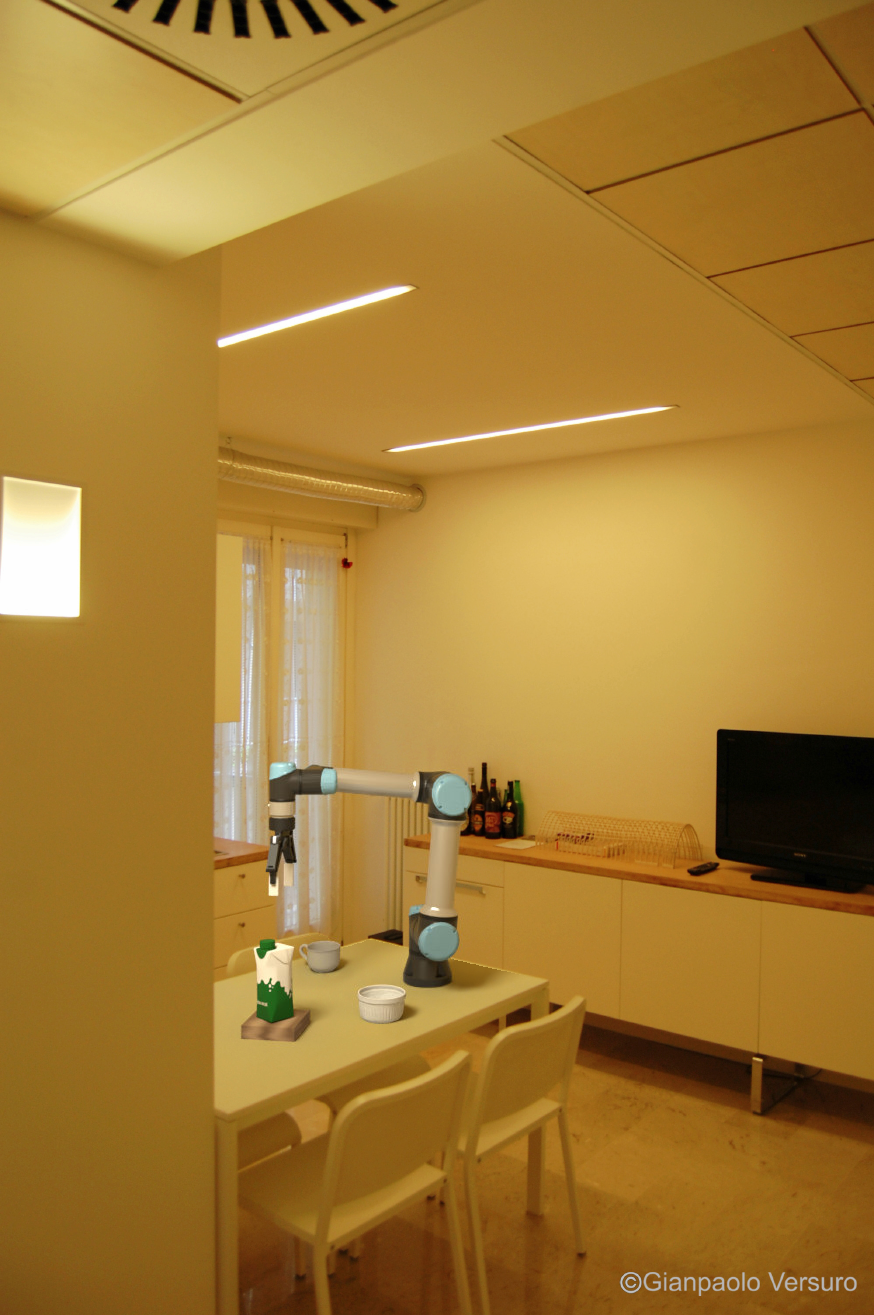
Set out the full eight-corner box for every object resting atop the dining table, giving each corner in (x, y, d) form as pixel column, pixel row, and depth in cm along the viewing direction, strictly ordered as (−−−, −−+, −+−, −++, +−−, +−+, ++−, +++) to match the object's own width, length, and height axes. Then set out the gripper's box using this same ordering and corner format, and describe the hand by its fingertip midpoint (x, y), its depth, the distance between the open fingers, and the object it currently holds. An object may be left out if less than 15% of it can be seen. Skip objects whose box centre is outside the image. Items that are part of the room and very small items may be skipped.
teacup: (347, 968, 307) (347, 943, 308) (325, 977, 298) (326, 951, 298) (313, 962, 315) (313, 937, 315) (291, 970, 305) (291, 944, 306)
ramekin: (414, 1014, 264) (415, 989, 264) (388, 1029, 252) (388, 1002, 253) (375, 1006, 271) (375, 981, 271) (347, 1020, 259) (347, 994, 259)
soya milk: (251, 1017, 251) (250, 940, 252) (280, 1009, 257) (278, 934, 258) (270, 1024, 244) (269, 945, 246) (299, 1016, 251) (298, 938, 252)
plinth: (309, 1025, 256) (309, 1010, 256) (294, 1044, 242) (294, 1028, 243) (259, 1022, 258) (259, 1007, 259) (241, 1041, 245) (241, 1025, 245)
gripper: (283, 810, 288) (282, 881, 287) (254, 821, 263) (254, 899, 263) (307, 811, 287) (306, 882, 286) (281, 822, 262) (280, 900, 261)
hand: (281, 890), depth 274 cm, fingers open, 13 cm apart
